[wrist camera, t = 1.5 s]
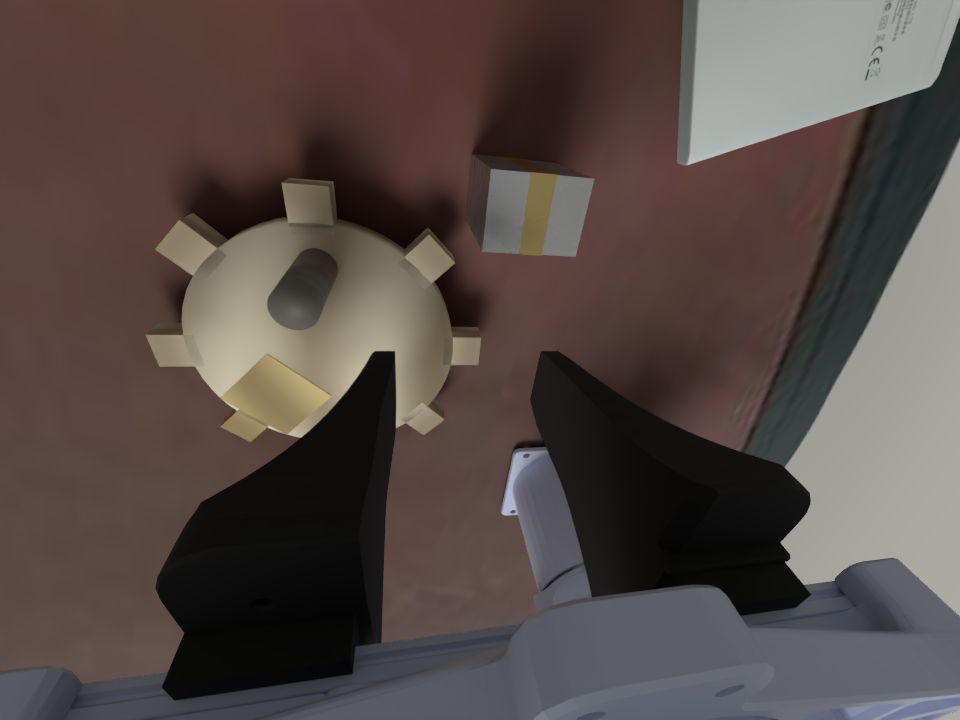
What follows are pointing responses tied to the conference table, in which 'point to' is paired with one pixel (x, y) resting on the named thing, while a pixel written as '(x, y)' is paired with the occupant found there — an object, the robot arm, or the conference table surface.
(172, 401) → the conference table surface
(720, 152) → the external hard drive
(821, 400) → the conference table surface
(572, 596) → the robot arm
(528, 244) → the white small box
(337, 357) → the sprocket
